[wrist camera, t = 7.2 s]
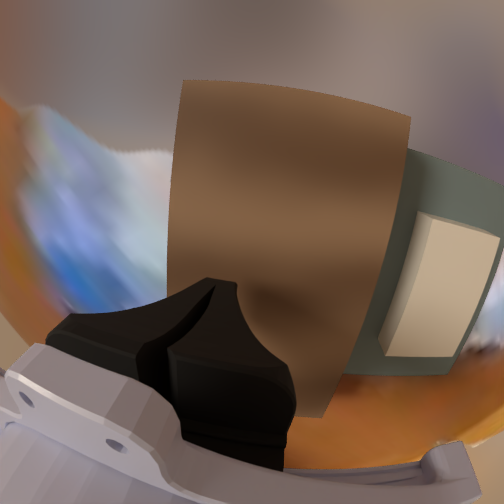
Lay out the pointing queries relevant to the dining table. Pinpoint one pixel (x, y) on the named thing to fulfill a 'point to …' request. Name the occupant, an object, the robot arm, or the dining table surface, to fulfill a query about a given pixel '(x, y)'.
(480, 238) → the beige flat block
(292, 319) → the panel
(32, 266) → the dining table surface
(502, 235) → the mat
